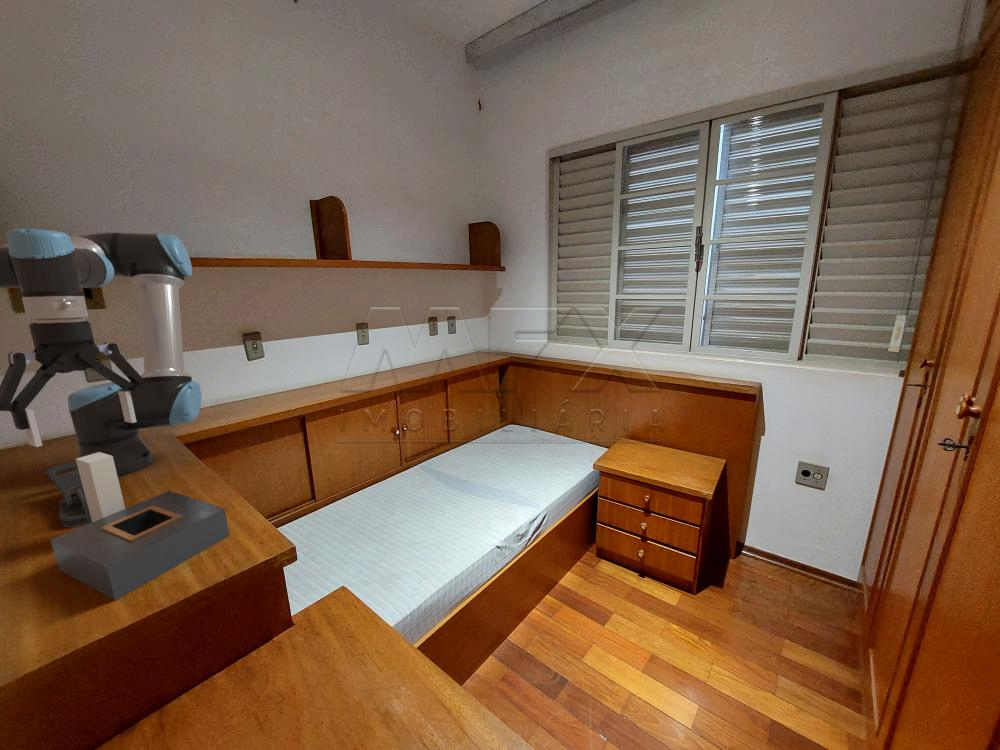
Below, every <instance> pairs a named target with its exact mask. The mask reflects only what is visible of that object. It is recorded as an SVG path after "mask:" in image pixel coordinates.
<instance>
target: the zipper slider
mask: <svg viewBox="0 0 1000 750" xmlns="http://www.w3.org/2000/svg"><path fill="white" fill-rule="evenodd" d="M75 468H78V466H77V462H76V460H74V461H71V462H66V463H62V464H60V465H57V466H53V467H50V468H47V469H45V474H46V475H47V477H49V479H50V480H51V481H52V483H53V484H54V485H55V486H56V488H57V489H58V491H59V493H61V494H62V496H63V498H60V500H59V514H58V515H59V516H58V517H59V521H60V524H61V525H60V526H61V527H64V528H69V529H74V528H77V527H78V528H79V527H82V526H85V525H87V524H90V523H92V519H91V516H90V512H89V508H88V504H87V500H86V497H85V493H84V489H83V485H82V481H81V478H80V474H79V470H75ZM70 470H72V471H70ZM66 471H67V472H66ZM64 472H65V473H64Z"/></svg>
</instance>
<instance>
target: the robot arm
mask: <svg viewBox="0 0 1000 750" xmlns="http://www.w3.org/2000/svg"><path fill="white" fill-rule="evenodd" d="M6 239H7V244H0V289H13V288H16V289H18V288H19V290H20V295H21V300H22V305H23V308H24V309H23V310H24V311H25V316H26V320H28V321H32V323H30V324H29V325H28V329H29V331H30V336H31V338H32V343H33V347H34V350H33V352H18V351H12V352H9V353H8V355H7V356H8V368H7V369H6V372H5V374H4V376H3V378H2V381H1V383H0V412H10V413H11V416H12V419H13V423H14V427H15V428H16V429H17V430H20V431H24V430H25V434H26V435H25V436H26V438H27V442H28V445H29V446H31V447H35V448H39V447H41V446H43V442H42V439H41V434H40V431H39V427H38V424H37V420H36V416H35V412H34V409H30V408H28V406H29V405H30V404H31V403H32V402H33V401H34V400H35V399H36V397H37V396H38V395H39V393H40V392H41V391H42V389H43V388H44V387H45V386H46V385H47V384H48V382H49V381H50V380H51V379H52V378H54V377H55V375H56V374H57V373H58V374H67V373H72V372H74V371H76V372H77V371H79V372H83V371H87V369H89V370H91V371H93V372H94V373H95V372H96V373H97V374H99V375H100V376H102V377H104V378H105V379H107V380H108V381H110V382H106V383H101V384H97V385H93V386H88V387H84V388H81V389H78V390H76V391H74V392H72V393H70V394H68V397H67V404H68V413H69V414H70V418H71V422H72V424H73V425H72V426H73V428H74V432H75V433H74V434H75V436H76V440H77V444H78V447H79V448H78V453H77V458H80V457H84V456H87V455H90V454H94V453H97V452H101V453H104V454H108V455H111V456H113V460H114V464H115V468H116V472H117V476H118V477H121V476H125V475H128V474H132V473H135V472H137V471H139V470H141V469H144V468H146V467H147V466H149V465H150V464H151V463H152V462H153V461H154V459H153V456H152V452H151V450H150V449H149V447H148V446H147V444H146V443H145V442H144V441H143V440H142V437H140V434H139V431H138V430H142V429H150V428H151V429H153V428H161V427H162V428H163V427H171V426H173V427H175V426H178V425H184V424H190V423H192V422H194V421H195V420H196V419H197V417H198V415H199V413H200V410H201V406H202V391H201V385H200V384H199V383H198V382H196V381H194V380H193V379H192V375H191V374H189V373H188V372H187V371H186V370H185V360H184V346H183V335H182V334H183V333H182V332H183V331H182V317H181V307H180V306H181V304H180V291H179V290H180V289H181V288H182V287H183V286H185V285H186V284H185V283H186V282H185V278H189V277H191V276H193V266H192V261H191V259H190V255H189V252H188V251H187V248H186V246H185V244H184V243H183V242H182V240H181V239H180V238H178V237H177V235H173V234H163V233H158V232H157V233H140V232H138V233H136V232H135V233H134V232H133V233H132V232H131V233H130V232H99V233H93V234H92V233H91V234H85V235H77V236H70V235H69V234H67V233H65V232H62V231H58V230H57V231H56V230H50V229H49V230H48V229H37V228H36V229H32V228H15V229H10V230H9V231H7V233H6ZM114 277H127V278H129V277H130V281H131V282H132V283H133V284H135V285H136V286H137V287H138V294H139V295H138V296H139V297H138V298H139V299H138V300H139V310H140V311H139V312H140V327H141V341H142V343H141V344H142V354H143V355H142V358H143V373H142V374H141V375H140V374H139V372H138V371H137V370H136V369H135V368H134V367H133V366H132V365H131V363H130V362H128V360H127V359H126V358H125V357H124V356H123V355H122V354H121V352H120V348H119V347H118V344H117V343H114V342H104V343H103V344H100V345H97V344H96V343H95V340H94V334H93V329H92V325H91V322H89V320H86V319H87V318H89V314H88V309H87V304H86V299H85V294H84V292H83V291H84V290H83V288H84V289H97V288H100V287H104V286H106V285H108V284H109V283H110V282H112V280H113V278H114ZM100 352H101V354H103V355H104V356H107V357H108V359H109V360H110V361H111V362H112V363H113V364H114V365H115V366H116V368H117V369H118V370H120V371H121V372H122V374H124V376H125V377H126V378H127V379H126V378H124V377H123V376H121V375H119V374H118V373H116V372H115V371H113V370H112V369H110V368H108V367H107V366H106V365H105V364H103V363H102V362H100V361H99V360H97V359H96V358H97V357H98V355H99V354H100ZM33 360H35V361H37V362H38V363H39V364H41V365H40V366H39V368H38V369H37V370H36V371H35V374H34V375H33V376H32V378H31V379H30V380H29V381H28V382H27V384H26V385H25V386H24V387H23V389H21V391H20V392H19V393H18V394H17V395H16V396H15V394H16V391H17V390H18V387H19V385H20V383H21V380H22V378H23V376H24V373H25V371H26V369H27V368H26V367H27V366H29V365H30V364H31V363H32V361H33ZM14 396H15V398H14ZM77 458H76V459H77ZM75 470H78V468H75V469H74V471H75Z"/></svg>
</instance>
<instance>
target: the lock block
mask: <svg viewBox="0 0 1000 750" xmlns="http://www.w3.org/2000/svg"><path fill="white" fill-rule="evenodd" d="M228 537H230V531H229V525H228V520H227V514H226V508H224V507H220V506H218V505H216V504H215V505H214V504H212V503H208V502H205V501H202V500H200V499H196V498H193V497H190V496H187V495H183V494H181V493H178V492H174V491H172V490H171V491H170V490H168V491H166V492H163V493H161V494H158V495H156V496H153V497H150V498H149V499H145V500H144V501H141V502H139V503H136V504H134V505H131V506H129V507H127V508H126V507H125V509H124V510H121V511H119V512H116V513H114V514H112V515H109V516H107V517H104V518H102V519H99V520H97V521H94V522H92V523H90V524H86V525H82V526H79V527H78V528H77V527H76V529H73V530H70V531H68V532H66V533H65V532H64V533H62V534H60V535H58V536H56V537H54V538H50V544H51V546H52V550H53V553H54V557H55V561H56V565H57V567H58V570H59V571H60V572H62V573H64V574H65V575H68V576H70V577H71V578H73V579H75V580H77V581H79V582H81V583H82V584H84V585H86V586H88V587H90V588H92V589H94V590H96V591H97V592H99V593H101V594H103V595H105V596H107V597H108V598H110V599H111V600H114V601H117V600H119V599H120V598H122V597H124V596H126V595H128V594H129V593H131V592H133V591H135V590H137V589H138V588H140V587H141V586H144V585H145V584H147V583H150V582H151V581H152V580H154V579H156V578H158V577H160V576H161V575H162V574H165V573H166V572H168V571H170V570H171V569H173V568H175V567H177V566H179V565H181V564H183V563H184V562H186V561H187V560H189V559H191V558H193V557H195V556H196V555H198V554H199V553H201V552H204V551H205V550H208V549H209V548H210V547H212V546H214V545H215V544H217V543H219V542H221V541H222V540H225V539H226V538H228Z"/></svg>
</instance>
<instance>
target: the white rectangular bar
mask: <svg viewBox="0 0 1000 750" xmlns="http://www.w3.org/2000/svg"><path fill="white" fill-rule="evenodd" d="M75 461H76V462H77V466H78V470H79V474H80V478H81V481H82V485H83V489H84V493H85V497H86V500H87V504H88V508H89V512H90V516H91V519H92V522H94V521H97V520H99V519H102V518H104V517H107V516H109V515H112V514H114V513H116V512H119V511H121V510H124V509H126V506H125V502H124V497H123V493H122V489H121V486H120V485H121V484H120V481H119V476H117V472H116V468H115V464H114V460H113V456H111V455H108V454H104V453H101V452H97V453H94V454H90V455H87V456H84V457H80V458H75Z"/></svg>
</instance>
